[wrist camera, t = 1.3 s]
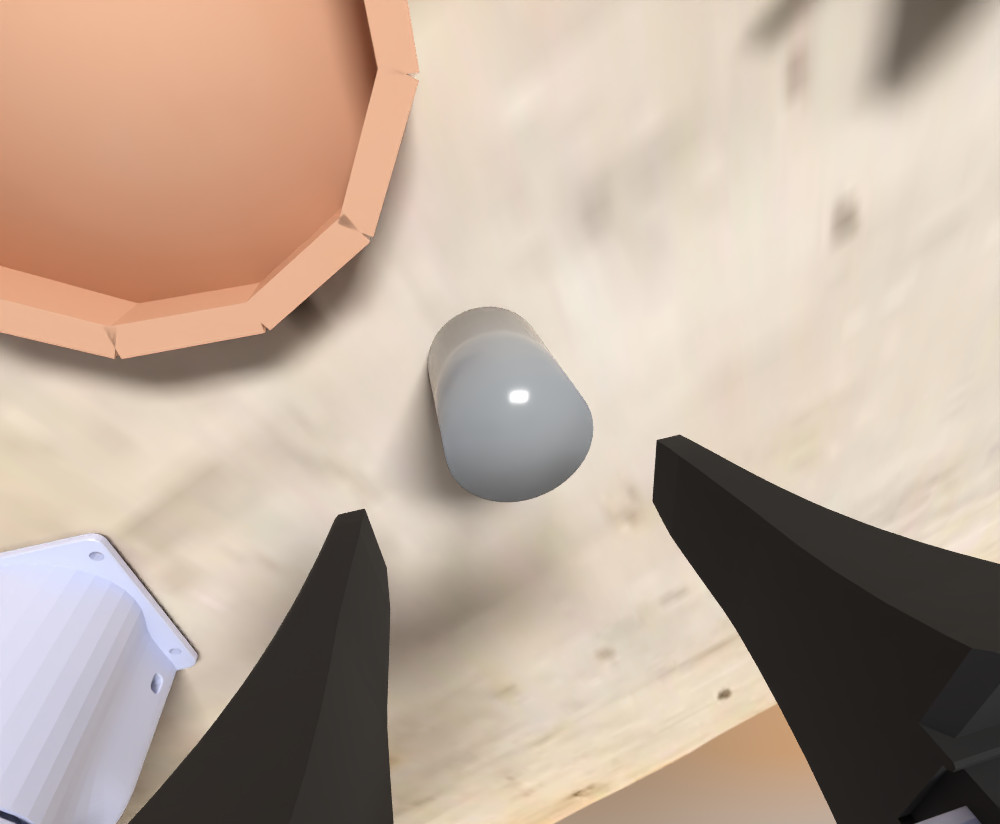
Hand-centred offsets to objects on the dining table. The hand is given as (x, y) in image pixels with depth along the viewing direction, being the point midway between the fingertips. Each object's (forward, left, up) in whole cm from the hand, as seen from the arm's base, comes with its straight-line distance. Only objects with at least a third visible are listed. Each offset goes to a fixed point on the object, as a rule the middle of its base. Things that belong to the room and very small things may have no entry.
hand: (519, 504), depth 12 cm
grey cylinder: (-1, -1, -10) cm, 10 cm away
